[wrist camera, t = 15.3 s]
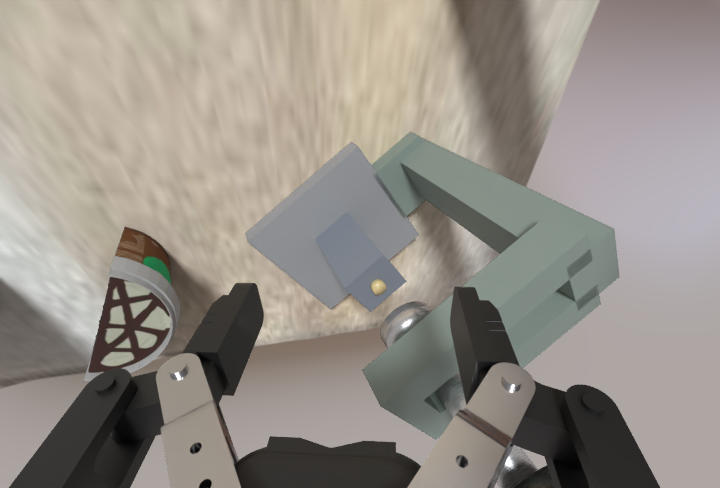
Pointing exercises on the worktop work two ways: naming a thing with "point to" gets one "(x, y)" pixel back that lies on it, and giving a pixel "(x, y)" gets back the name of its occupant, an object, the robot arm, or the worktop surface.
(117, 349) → the food container
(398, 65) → the worktop surface
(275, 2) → the worktop surface
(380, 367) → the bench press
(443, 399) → the press ram
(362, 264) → the block
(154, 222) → the worktop surface
